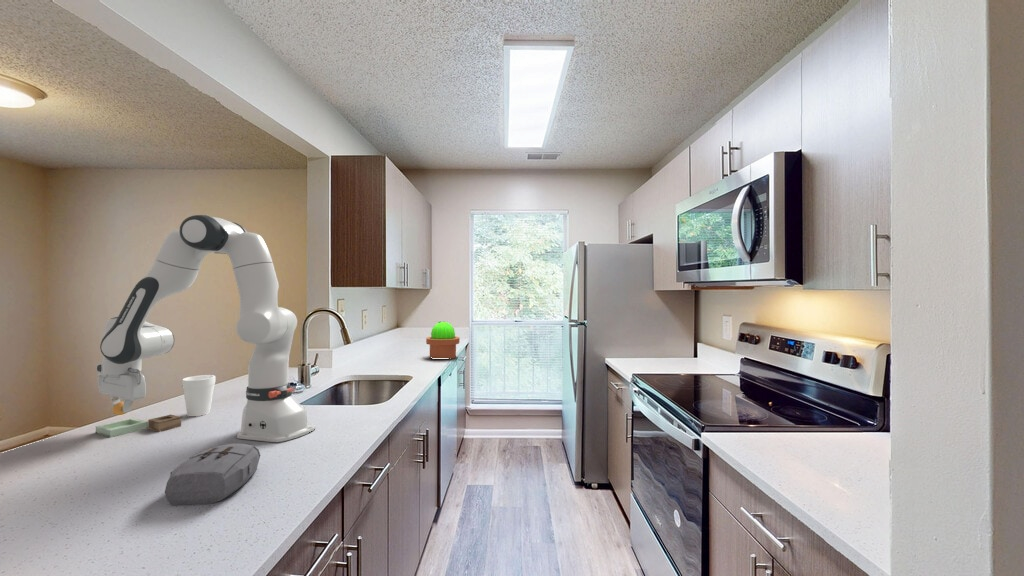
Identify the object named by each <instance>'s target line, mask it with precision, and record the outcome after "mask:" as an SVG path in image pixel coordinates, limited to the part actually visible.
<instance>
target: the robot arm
mask: <svg viewBox="0 0 1024 576" xmlns="http://www.w3.org/2000/svg"><path fill="white" fill-rule="evenodd" d="M210 253H214V254H221V255H223V254H224V255H226V254H227V256H228V258H229V259H230V263H231V267H232V271H233V275H234V278H235V282H236V286H237V290H238V294H239V318H238V320H237V322H236V328H235V329H236V334H237V335H238V337H239V338H240V339H241V340H242V341H243V342H245V343H248V344H252V345H253V344H254V349H253V352H252V354H251V357H250V358H249V361H248V371H247V373H248V377H247V387H246V390H245V396H246V400H247V401H246V404H245V406H243V409H242V417H241V424H240V431H239V432H238V433H237V434H236V439H240V440H249V441H250V440H251V441H261V442H269V443H270V442H271V443H281V442H286V441H289V440H294V439H296V438H300V437H302V436H305V435H307V434H310V433H311V431H312V432H313V431H315V430H316V429H315V428H317V425H315V424H313V423H310V422H308V414H307V410H306V408H305V406H302V405H301V404H300V403H299V402H298V401H297V400H296V398H295V397H294V396H293V392H294V391H295V390H294V389H295V387H293V386H292V387H291V384H290V382H289V363H290V361H289V360H290V354H291V349H292V344H293V339H294V334H295V331H296V329H297V326H298V318H297V316H296V314H295V313H294V312H293V311H292V310H290V309H287V308H285V307H281V306H280V307H279V305H278V304H279V302H278V301H279V300H278V296H279V295H278V293H279V289H280V283H279V280H278V276H277V273H276V270H275V269H276V268H275V265H274V262H273V258H272V255H271V253H270V250H269V248H268V246H267V244H266V242H265V239H264V238H263V237H262V236H261V234H258V233H256V232H250V231H247V229H245V227H243V226H242V225H240V224H239V223H236V222H233V221H229V220H226V219H225V218H221V217H217V216H216V217H215V216H210V215H206V214H195V215H191V216H188V217H186V218H185V219H184V220H183V221H182V222H181V224H180V225H179V229H175V230H172V231H171V232H169V233H168V234H167V236H166V237H165V239H164V240H163V242H162V244H161V246H160V247H159V250H158V253H157V255H156V256H155V260H154V263H153V264H152V266H151V268H150V270H149V271H148V272H147V274H146V275H145V276H144V277H143V278H142V279H140V280H139V281H138V282H137V283H135V286H134V287H133V288H132V290H131V292H130V294H129V296H128V297H127V299H126V301H125V303H124V305H123V307H122V308H121V311H120V312H119V315H118V316H114V317H112V318H110V319H107V321H106V323H105V327H104V331H103V338H102V339H101V342H100V346H99V347H100V352H101V354H102V356H103V357H102V362H100V363H99V364H97V365H96V367H95V371H96V372H97V373H98V374H97V388H98V389H97V390H98V391H99V393H100V394H102V395H106V396H109V398H110V402H111V404H112V409H113V407H114V405H115V404H117V403H119V402H124V403H123V406H122V407H121V411H122V412H127V413H129V412H131V411H132V405H133V403H134V401H137V400H141V399H145V397H146V395H147V388H146V387H147V386H146V385H147V384H146V378H145V375H144V374H142V372H141V371H143V369H142V365H143V359H148V358H149V359H150V358H153V357H158V356H163V355H165V354H167V353H169V352H170V351H172V349H173V347H174V345H175V335H174V333H173V332H172V330H171V329H169V328H168V327H165V326H160V325H158V324H157V325H156V324H155V323H154V324H153V323H151V322H148V321H146V320H147V319H148V317H149V315H150V313H151V311H152V309H153V307H154V306H156V304H158V303H159V302H161V301H162V300H164V299H166V298H168V297H170V296H173V295H175V294H179V293H182V292H183V291H186V290H188V289H189V288H190V287H192V286H193V284H194V282H195V281H196V280H197V278H198V277H197V276H198V275H199V273H200V269H201V267H202V263H203V260H204V258H205V257H206V256H207V255H208V254H210ZM121 399H122V401H121ZM112 409H111V410H112ZM314 429H315V430H314ZM309 432H310V433H309Z"/></svg>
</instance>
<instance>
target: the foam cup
mask: <svg viewBox="0 0 1024 576" xmlns="http://www.w3.org/2000/svg"><path fill="white" fill-rule="evenodd" d="M181 383H182V385H181V386H182V387H183V394H184V401H185V408H186V414H187V417H189V416H196V417H202V416H201V415H203V416H206V415H208V413H209V414H210V413H211V412H210V411H211V407H212V400H213V396H214V390H215V389H214V388H215V384H216V375H213V374H205V375H204V374H202V375H193V376H188V377H184V378H182V382H181ZM205 414H206V415H205Z"/></svg>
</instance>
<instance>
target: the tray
mask: <svg viewBox="0 0 1024 576" xmlns="http://www.w3.org/2000/svg"><path fill="white" fill-rule="evenodd" d="M144 429H145V430H146V429H148V421H147V420H141V419H139V418H134V417H131V418H130V417H129V418H127V419H122V420H121V419H120V420H117V421H113V422H109V423H104V424H100V425H96V426H95V433H96V432H97V433H96V434H98V433H99V434H98V435H101V434H103V435H102V436H104V437H105V436H106V437H108V436H109V437H108V438H113V436H114V437H117V435H118V436H121V435H125V434H129V433H133V432H137V430H138V431H141V430H144Z"/></svg>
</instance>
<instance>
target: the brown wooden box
mask: <svg viewBox="0 0 1024 576" xmlns="http://www.w3.org/2000/svg"><path fill="white" fill-rule="evenodd" d="M147 422H148V428H147V429H148V430H149V429H150V430H149V431H153V430H154V432H157V433H160V431H161V432H164V431H168V430H171V429H175V427H176V428H179V427H182V416H178V415H174V414H166V415H163V416H159V417H154V418H150V419H148V421H147Z"/></svg>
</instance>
